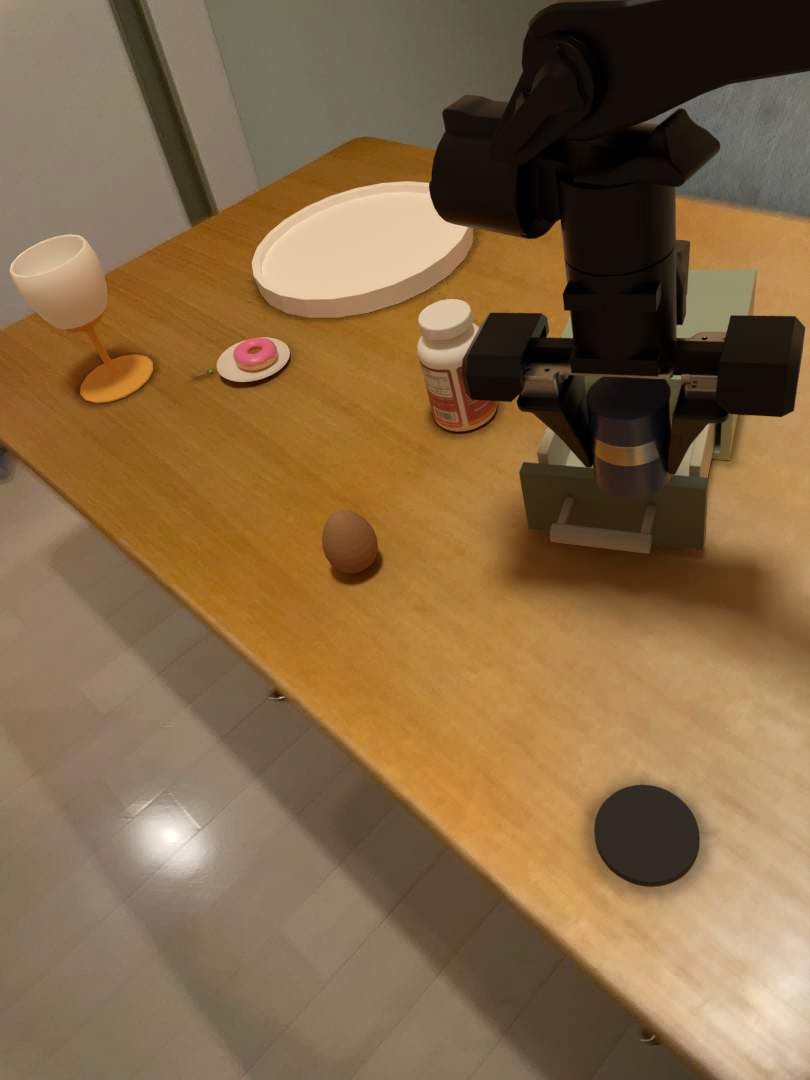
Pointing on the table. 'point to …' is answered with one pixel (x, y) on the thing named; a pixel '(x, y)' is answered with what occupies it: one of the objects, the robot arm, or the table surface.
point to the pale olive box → (710, 324)
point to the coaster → (646, 835)
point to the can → (630, 434)
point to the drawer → (617, 499)
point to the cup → (77, 308)
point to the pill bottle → (449, 365)
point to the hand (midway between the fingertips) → (631, 466)
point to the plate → (358, 252)
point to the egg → (349, 542)
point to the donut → (252, 359)
